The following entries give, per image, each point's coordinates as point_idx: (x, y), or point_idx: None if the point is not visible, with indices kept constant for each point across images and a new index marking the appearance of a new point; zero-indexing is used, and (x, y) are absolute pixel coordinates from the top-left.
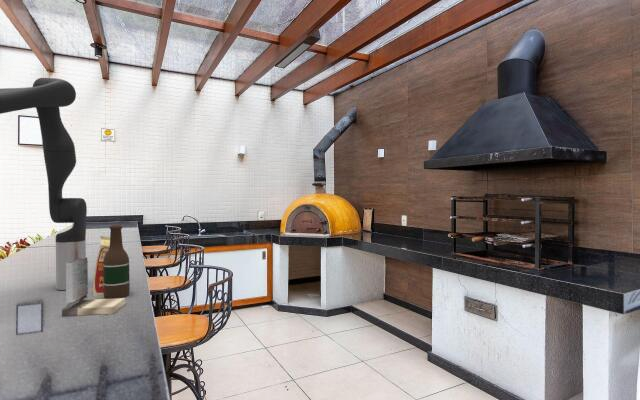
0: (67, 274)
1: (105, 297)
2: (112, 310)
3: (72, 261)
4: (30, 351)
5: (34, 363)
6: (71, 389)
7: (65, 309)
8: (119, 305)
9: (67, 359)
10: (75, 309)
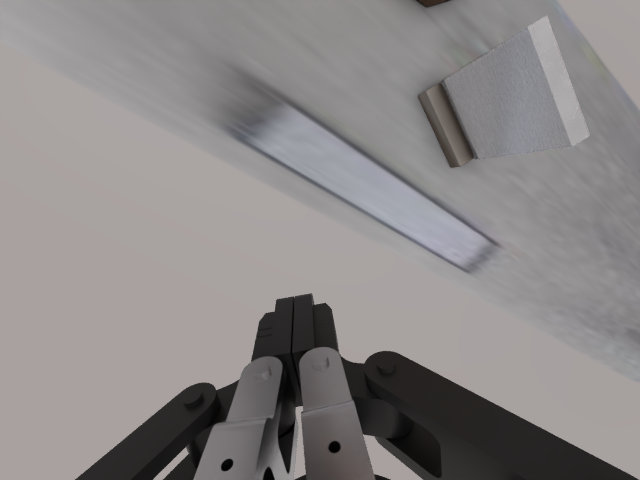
0: (540, 149)
1: (422, 2)
2: None
3: (569, 114)
4: (562, 307)
5: (605, 329)
6: None
7: (466, 162)
8: None
9: (636, 303)
10: None
